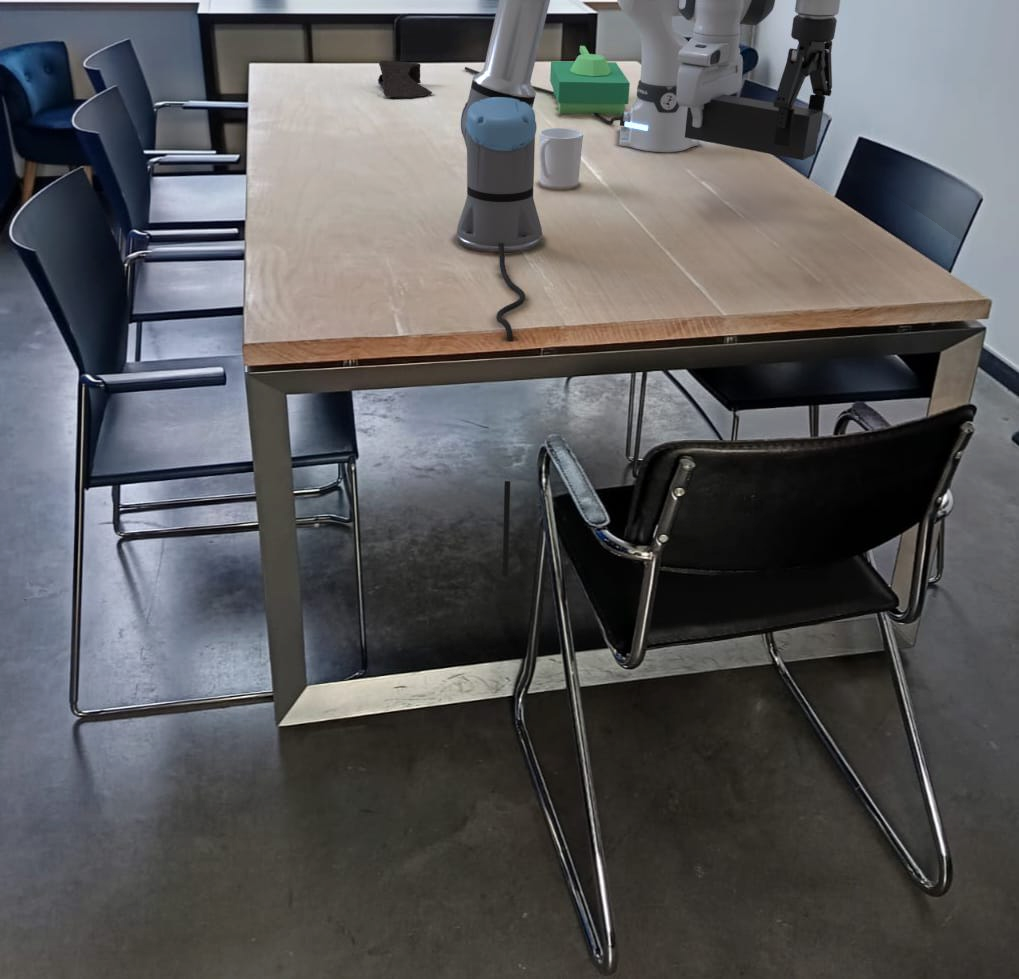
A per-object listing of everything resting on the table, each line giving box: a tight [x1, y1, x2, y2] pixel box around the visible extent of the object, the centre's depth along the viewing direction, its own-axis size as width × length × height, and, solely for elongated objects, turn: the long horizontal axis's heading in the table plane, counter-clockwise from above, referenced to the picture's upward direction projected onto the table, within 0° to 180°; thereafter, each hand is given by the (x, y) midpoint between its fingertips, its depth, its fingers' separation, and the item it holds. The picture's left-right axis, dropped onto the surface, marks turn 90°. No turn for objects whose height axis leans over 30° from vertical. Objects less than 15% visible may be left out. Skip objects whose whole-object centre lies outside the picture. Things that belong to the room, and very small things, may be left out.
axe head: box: [377, 59, 433, 99], centre depth 299 cm, size 18×8×15 cm
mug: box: [538, 127, 584, 190], centre depth 223 cm, size 11×9×10 cm
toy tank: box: [549, 45, 631, 116], centre depth 289 cm, size 18×12×35 cm
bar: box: [685, 95, 823, 161], centre depth 209 cm, size 25×6×8 cm, turn 53°
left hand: (797, 138), depth 204 cm, fingers open, 13 cm apart
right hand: (706, 123), depth 214 cm, fingers closed on bar, 5 cm apart
